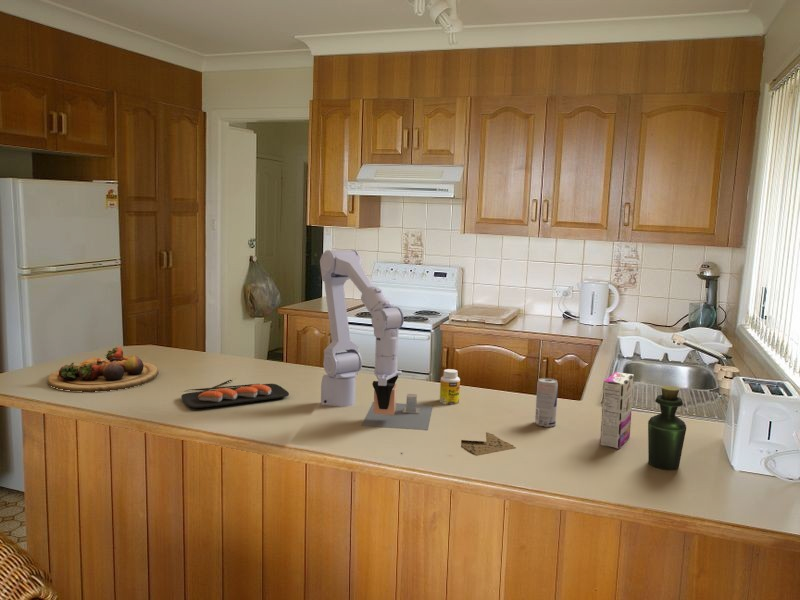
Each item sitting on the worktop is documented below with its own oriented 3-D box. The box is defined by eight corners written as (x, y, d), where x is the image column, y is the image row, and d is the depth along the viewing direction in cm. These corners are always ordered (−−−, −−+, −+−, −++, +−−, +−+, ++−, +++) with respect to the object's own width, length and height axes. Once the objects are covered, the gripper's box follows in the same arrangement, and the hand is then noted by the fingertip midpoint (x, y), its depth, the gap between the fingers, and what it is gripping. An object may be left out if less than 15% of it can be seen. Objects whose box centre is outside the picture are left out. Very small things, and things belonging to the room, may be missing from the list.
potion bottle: (649, 455, 157) (656, 381, 154) (686, 463, 152) (693, 387, 150) (640, 465, 150) (646, 388, 148) (678, 474, 146) (685, 395, 143)
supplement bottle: (447, 409, 188) (448, 374, 187) (435, 404, 193) (437, 369, 191) (462, 406, 191) (464, 371, 190) (451, 401, 196) (452, 367, 194)
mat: (360, 429, 169) (361, 425, 169) (373, 405, 190) (373, 401, 190) (427, 433, 167) (427, 430, 167) (432, 408, 188) (432, 405, 188)
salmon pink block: (373, 413, 170) (374, 388, 169) (376, 407, 175) (377, 383, 174) (393, 415, 170) (394, 390, 169) (396, 408, 175) (396, 384, 174)
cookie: (476, 457, 153) (476, 453, 153) (447, 440, 164) (447, 437, 164) (517, 449, 159) (517, 446, 159) (487, 434, 170) (487, 430, 169)
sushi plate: (190, 414, 179) (190, 400, 178) (167, 387, 204) (167, 374, 204) (292, 400, 193) (292, 388, 193) (258, 376, 219) (258, 365, 218)
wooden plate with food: (88, 364, 228) (86, 340, 227) (176, 369, 224) (175, 345, 222) (23, 391, 197) (21, 364, 195) (124, 397, 192) (122, 370, 191)
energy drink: (556, 422, 179) (559, 379, 177) (554, 428, 174) (557, 384, 172) (536, 419, 181) (538, 376, 179) (533, 425, 176) (536, 381, 174)
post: (402, 413, 180) (403, 397, 179) (404, 408, 184) (404, 392, 184) (418, 414, 180) (419, 398, 179) (420, 409, 184) (420, 393, 183)
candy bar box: (610, 432, 172) (614, 371, 169) (630, 436, 169) (635, 374, 167) (598, 445, 162) (603, 380, 160) (619, 449, 160) (624, 383, 157)
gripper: (398, 361, 163) (397, 415, 165) (404, 348, 177) (403, 398, 179) (370, 360, 163) (368, 413, 165) (378, 347, 178) (377, 396, 180)
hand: (384, 405), depth 172 cm, fingers closed on salmon pink block, 5 cm apart
